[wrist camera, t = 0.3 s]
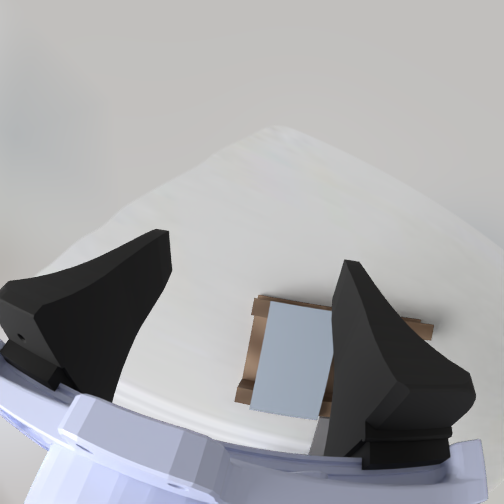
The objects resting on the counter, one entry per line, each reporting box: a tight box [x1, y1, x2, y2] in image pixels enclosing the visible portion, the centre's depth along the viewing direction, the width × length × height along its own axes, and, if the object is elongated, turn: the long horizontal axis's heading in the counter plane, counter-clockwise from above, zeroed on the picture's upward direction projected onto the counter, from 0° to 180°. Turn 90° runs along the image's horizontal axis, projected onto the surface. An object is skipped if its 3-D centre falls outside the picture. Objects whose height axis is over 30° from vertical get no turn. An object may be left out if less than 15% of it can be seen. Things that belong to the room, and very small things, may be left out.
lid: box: [249, 301, 333, 420], centre depth 32 cm, size 13×8×1 cm, turn 169°
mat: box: [309, 417, 330, 456], centre depth 35 cm, size 9×9×1 cm
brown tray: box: [235, 295, 434, 417], centre depth 35 cm, size 14×23×5 cm, turn 80°
